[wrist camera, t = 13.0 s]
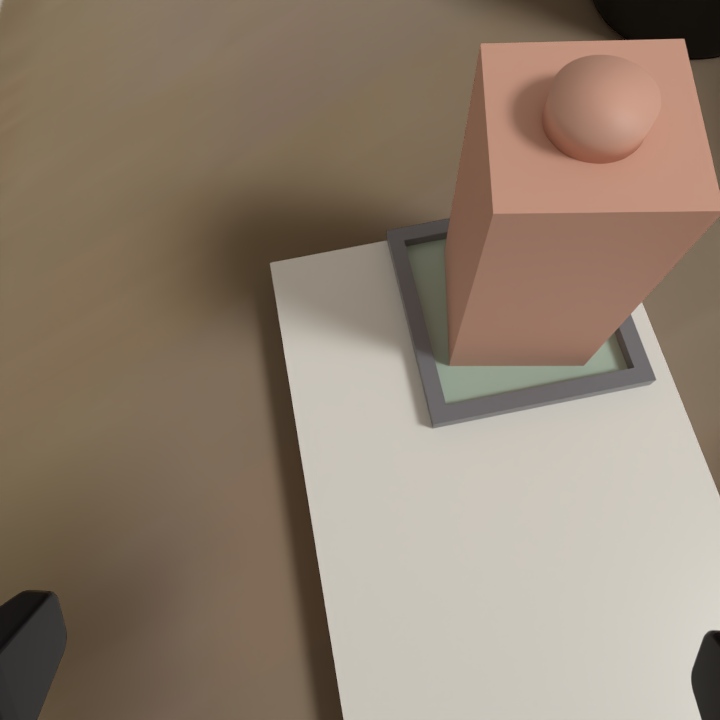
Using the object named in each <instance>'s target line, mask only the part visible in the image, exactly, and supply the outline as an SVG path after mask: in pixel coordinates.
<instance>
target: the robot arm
mask: <svg viewBox="0 0 720 720" xmlns="http://www.w3.org/2000/svg"><path fill="white" fill-rule="evenodd" d="M66 640H67V633H66V628H65V624H64V620H63V616H62V612H61V608H60V604H59V600H58V597H57V595H56V594H55V593H54V592H51V591H39V590H26V591H23V592H21V593H19V594H17V595H16V596H15V597H13V598H12V599H10V600H9V601H7V602H6V603H4V604H3V605H1V606H0V720H37V719H38V716H39V714H40V711H41V709H42V706H43V703H44V701H45V698H46V696H47V693H48V691H49V688H50V686H51V683H52V680H53V678H54V675H55V673H56V670H57V668H58V665H59V663H60V660H61V657H62V655H63V652H64V649H65V645H66ZM691 685H692V690H693V693H694V697H695V700H696V703H697V706H698V710H699V713H700V716H701V720H720V630H710V631H708V632H707V633H706V634H705V635H704V637H703V640H702V642H701V645H700V648H699V651H698V654H697V656H696V659H695V662H694V665H693V668H692V672H691Z"/></svg>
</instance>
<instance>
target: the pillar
mask: <svg viewBox="0 0 720 720" xmlns="http://www.w3.org/2000/svg"><path fill="white" fill-rule="evenodd" d="M719 216H720V191H719V187H718V182H717V178H716V174H715V169H714V165H713V161H712V156H711V152H710V148H709V143H708V139H707V135H706V130H705V126H704V122H703V117H702V113H701V109H700V104H699V100H698V96H697V91H696V87H695V83H694V78H693V74H692V70H691V65H690V61H689V57H688V52H687V48H686V44H685V39H653V40H611V41H569V42H528V43H486V44H480V50H479V56H478V61H477V67H476V73H475V79H474V84H473V90H472V96H471V101H470V107H469V113H468V119H467V124H466V130H465V136H464V141H463V147H462V153H461V159H460V164H459V170H458V176H457V181H456V187H455V193H454V199H453V204H452V210H451V216H450V221H449V227H448V233H447V239H446V244H445V250H444V251H445V275H446V300H447V324H448V349H449V366H584V365H585V364H586V363H587V362H588V361H589V360H590V358H591V357H592V356H593V355H594V354H595V353H596V352H597V351H598V350H599V348H600V347H601V346H602V345H603V344H604V343H605V342H606V341H607V340H608V339H609V337H610V336H611V335H612V334H613V333H614V332H615V331H616V330H617V329H618V328H619V326H620V325H621V324H622V323H623V322H624V321H625V320H626V319H627V318H628V316H629V315H630V314H631V313H632V312H633V311H634V310H635V309H636V308H637V307H638V305H639V304H640V303H641V302H642V301H643V300H644V299H645V298H646V297H647V296H648V294H649V293H650V292H651V291H652V290H653V289H654V288H655V287H656V286H657V285H658V283H659V282H660V281H661V280H662V279H663V278H664V277H665V276H666V275H667V273H668V272H669V271H670V270H671V269H672V268H673V267H674V266H675V265H676V264H677V262H678V261H679V260H680V259H681V258H682V257H683V256H684V255H685V254H686V253H687V251H688V250H689V249H690V248H691V247H692V246H693V245H694V244H695V243H696V241H697V240H698V239H699V238H700V237H701V236H702V235H703V234H704V233H705V232H706V230H707V229H708V228H709V227H710V226H711V225H712V224H713V223H714V222H715V221H716V219H717V218H718V217H719Z"/></svg>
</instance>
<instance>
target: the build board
mask: <svg viewBox="0 0 720 720" xmlns="http://www.w3.org/2000/svg"><path fill="white" fill-rule="evenodd" d="M449 221H450V218H449V219H444V220H439V221H433V222H428V223H423V224H418V225H412V226H407V227H402V228H397V229H391V230H386V239H387V241H382V242H376V243H371V244H366V245H361V246H355V247H350V248H345V249H340V250H335V251H329V252H324V253H319V254H314V255H308V256H303V257H298V258H293V259H288V260H282V261H277V262H272V263H270V267H271V273H272V279H273V286H274V292H275V298H276V304H277V310H278V317H279V323H280V329H281V335H282V341H283V348H284V354H285V360H286V366H287V372H288V379H289V385H290V391H291V397H292V403H293V410H294V416H295V422H296V428H297V434H298V441H299V447H300V453H301V459H302V465H303V471H304V478H305V484H306V490H307V496H308V502H309V509H310V515H311V521H312V527H313V533H314V540H315V546H316V552H317V558H318V564H319V571H320V577H321V583H322V589H323V595H324V602H325V608H326V614H327V620H328V626H329V633H330V639H331V645H332V651H333V657H334V663H335V670H336V676H337V682H338V688H339V694H340V701H341V707H342V713H343V719H344V720H701V716H700V713H699V710H698V706H697V703H696V700H695V697H694V693H693V690H692V685H691V672H692V668H693V665H694V662H695V659H696V656H697V654H698V651H699V648H700V645H701V642H702V640H703V637H704V635H705V634H706V633H707V632H708V631H710V630H720V496H719V494H718V491H717V489H716V486H715V484H714V481H713V479H712V476H711V474H710V471H709V469H708V466H707V464H706V461H705V459H704V456H703V454H702V451H701V449H700V446H699V444H698V441H697V439H696V436H695V434H694V431H693V429H692V426H691V424H690V421H689V419H688V416H687V414H686V411H685V409H684V406H683V404H682V401H681V399H680V396H679V394H678V391H677V389H676V386H675V384H674V381H673V379H672V376H671V374H670V371H669V369H668V366H667V364H666V361H665V359H664V356H663V354H662V351H661V349H660V346H659V344H658V341H657V339H656V336H655V334H654V331H653V329H652V326H651V324H650V321H649V319H648V316H647V314H646V311H645V309H644V306H643V304H642V302H641V303H640V304H639V305H638V307H637V308H636V309H635V310H634V311H633V312H632V313H631V314H630V315H629V316H628V318H627V319H626V320H625V321H624V322H623V323H622V324H621V325H620V326H619V328H618V329H617V330H616V331H615V332H614V333H613V334H612V335H611V336H610V337H609V339H608V340H607V341H606V342H605V343H604V344H603V345H602V346H601V347H600V348H599V350H598V351H597V352H596V353H595V354H594V355H593V356H592V357H591V358H590V360H589V361H588V362H587V363H586V364H585V365H584V366H449V349H448V324H447V300H446V275H445V251H444V250H445V244H446V239H447V233H448V227H449Z"/></svg>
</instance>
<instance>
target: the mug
mask: <svg viewBox="0 0 720 720" xmlns="http://www.w3.org/2000/svg"><path fill="white" fill-rule="evenodd" d="M594 3H595V5H596V7H597V9H598V11H599V12H600V14H601V15H602V17H603V18H604V19H605V21H606V22H607V23H608V24H609V25H610V26H611V27H612V28H613V29H614V30H616V31H617V32H618V33H619V34H621V35H622V36H623V37H625V38H627V39H628V40H653V39H685V44H686V48H687V52H688V57H689V58H710V57H717V56H720V0H594Z"/></svg>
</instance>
